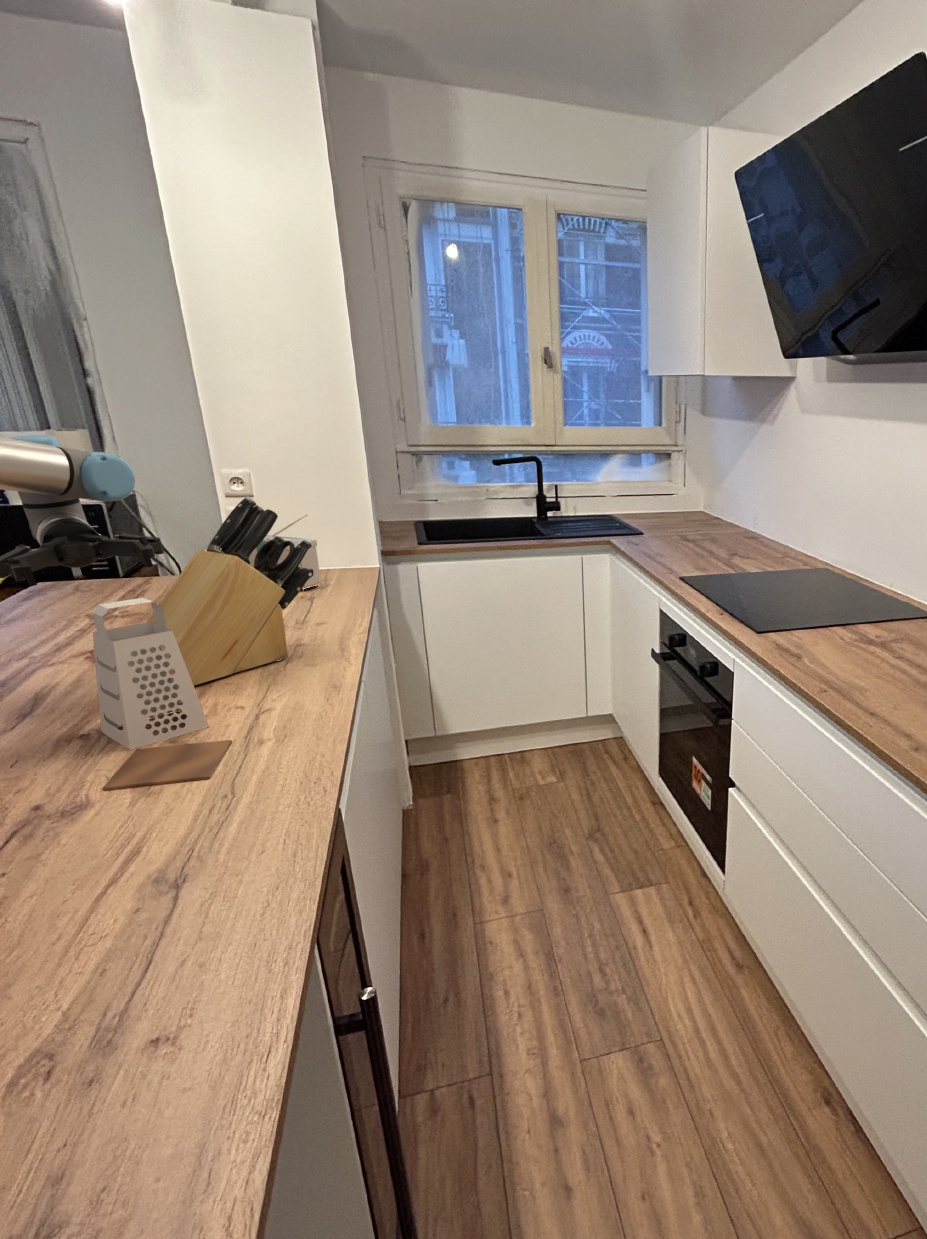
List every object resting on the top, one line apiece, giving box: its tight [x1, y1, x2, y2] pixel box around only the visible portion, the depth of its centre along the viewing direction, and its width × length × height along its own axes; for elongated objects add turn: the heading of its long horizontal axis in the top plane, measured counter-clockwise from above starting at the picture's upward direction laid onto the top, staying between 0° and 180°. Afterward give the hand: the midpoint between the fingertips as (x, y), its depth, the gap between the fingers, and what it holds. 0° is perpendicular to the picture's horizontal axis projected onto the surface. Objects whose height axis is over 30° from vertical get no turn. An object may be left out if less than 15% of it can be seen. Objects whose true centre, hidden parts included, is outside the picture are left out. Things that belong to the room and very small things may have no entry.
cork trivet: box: [102, 739, 233, 791], centre depth 101 cm, size 12×12×1 cm
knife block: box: [145, 496, 314, 687], centre depth 134 cm, size 11×35×31 cm, turn 155°
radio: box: [249, 513, 322, 588], centre depth 199 cm, size 21×8×20 cm, turn 72°
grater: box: [91, 597, 210, 751], centre depth 108 cm, size 10×10×20 cm
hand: (91, 567), depth 105 cm, fingers open, 13 cm apart
